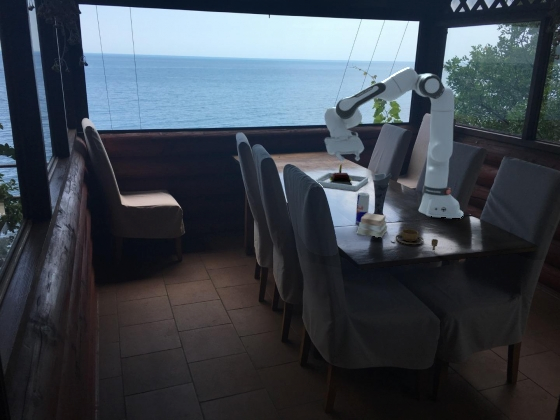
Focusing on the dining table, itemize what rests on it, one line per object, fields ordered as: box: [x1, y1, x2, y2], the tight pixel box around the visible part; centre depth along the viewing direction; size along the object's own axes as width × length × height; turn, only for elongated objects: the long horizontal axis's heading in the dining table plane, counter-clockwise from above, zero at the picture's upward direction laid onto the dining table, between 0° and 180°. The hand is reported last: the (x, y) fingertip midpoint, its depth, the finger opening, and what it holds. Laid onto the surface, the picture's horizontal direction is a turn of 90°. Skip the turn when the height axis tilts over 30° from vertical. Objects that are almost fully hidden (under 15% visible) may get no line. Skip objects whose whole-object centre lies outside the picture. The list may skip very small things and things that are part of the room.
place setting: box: [395, 228, 439, 251], centre depth 211 cm, size 18×20×6 cm
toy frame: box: [315, 171, 369, 192], centre depth 313 cm, size 28×28×3 cm
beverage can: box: [355, 192, 370, 225], centre depth 235 cm, size 6×6×15 cm
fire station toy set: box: [329, 164, 353, 185], centre depth 311 cm, size 14×20×11 cm
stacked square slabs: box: [356, 212, 388, 238], centre depth 224 cm, size 11×11×8 cm
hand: (350, 160), depth 239 cm, fingers open, 8 cm apart
